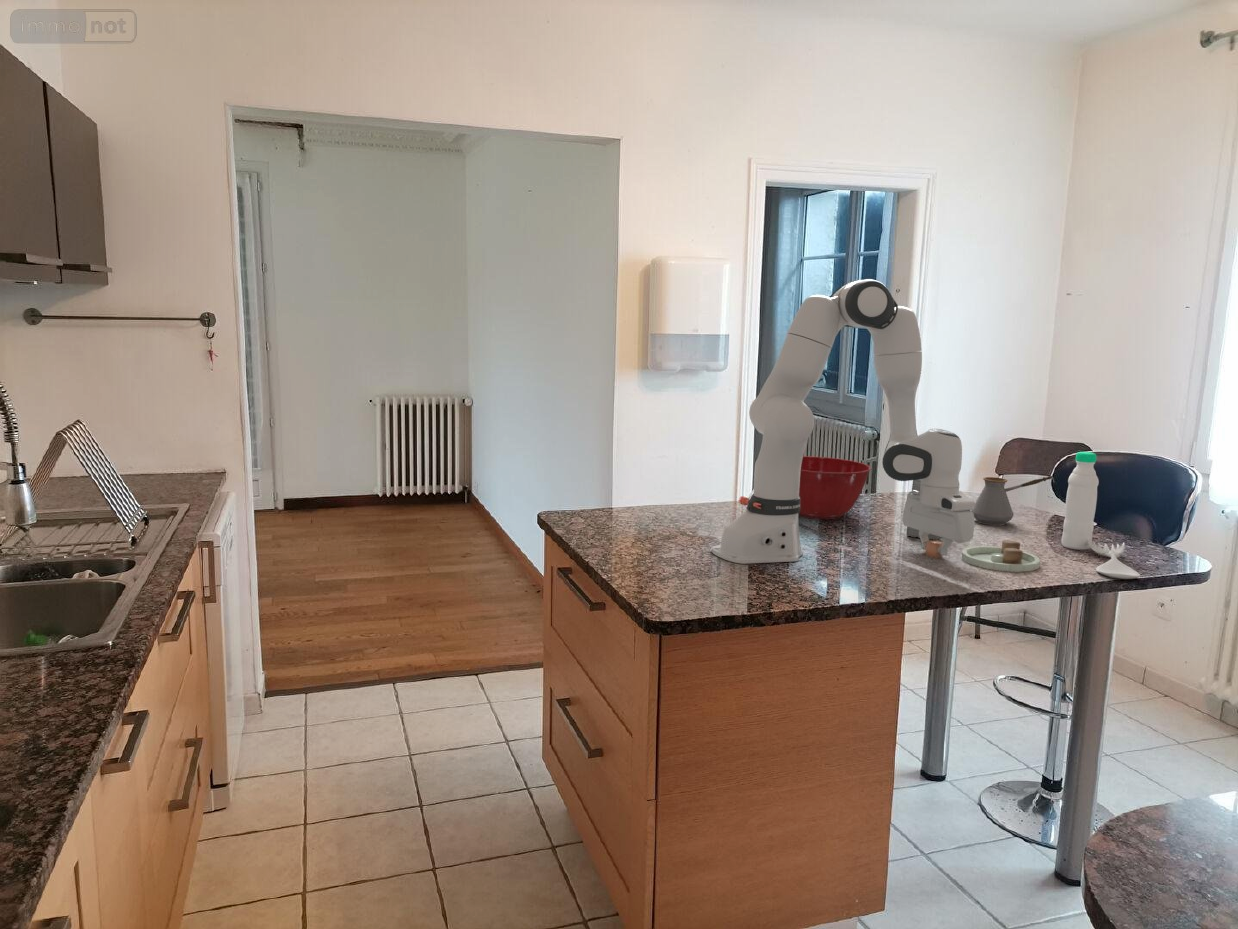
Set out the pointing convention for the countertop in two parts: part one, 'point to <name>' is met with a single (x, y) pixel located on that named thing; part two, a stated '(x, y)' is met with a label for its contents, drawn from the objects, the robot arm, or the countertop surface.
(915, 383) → the robot arm
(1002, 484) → the coffee pot
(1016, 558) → the seated bead
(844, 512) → the mixing bowl
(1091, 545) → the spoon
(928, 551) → the loose bead
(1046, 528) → the countertop surface
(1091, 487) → the milk bottle
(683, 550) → the countertop surface
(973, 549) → the groove tray
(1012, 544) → the seated bead
